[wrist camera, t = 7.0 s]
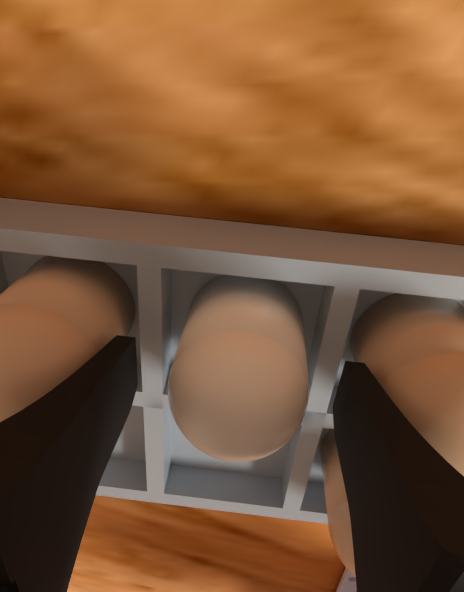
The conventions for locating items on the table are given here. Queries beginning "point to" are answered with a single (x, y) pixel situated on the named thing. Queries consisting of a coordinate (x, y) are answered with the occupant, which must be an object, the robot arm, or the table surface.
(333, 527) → the brown egg
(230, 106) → the table surface
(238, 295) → the light brown egg
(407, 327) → the brown egg
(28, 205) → the egg tray
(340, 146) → the table surface
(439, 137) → the table surface
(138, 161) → the table surface
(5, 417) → the brown egg
